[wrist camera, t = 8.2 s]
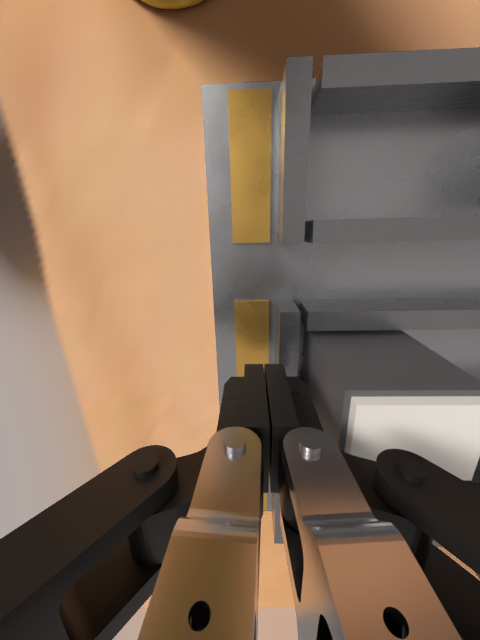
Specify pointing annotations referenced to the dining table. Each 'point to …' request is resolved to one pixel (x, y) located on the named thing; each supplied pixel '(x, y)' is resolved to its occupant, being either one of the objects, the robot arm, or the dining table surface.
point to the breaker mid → (393, 397)
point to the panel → (345, 208)
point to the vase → (171, 3)
